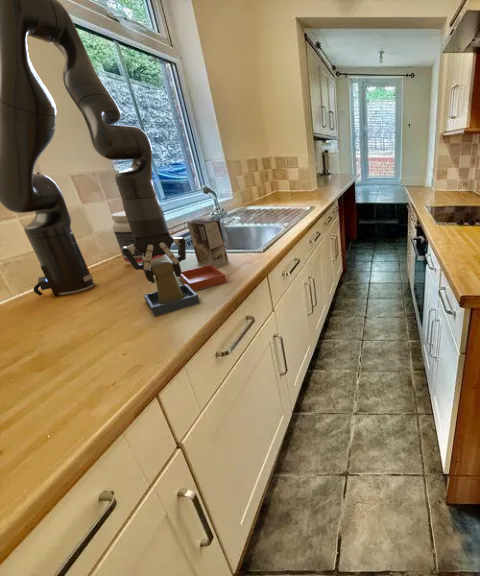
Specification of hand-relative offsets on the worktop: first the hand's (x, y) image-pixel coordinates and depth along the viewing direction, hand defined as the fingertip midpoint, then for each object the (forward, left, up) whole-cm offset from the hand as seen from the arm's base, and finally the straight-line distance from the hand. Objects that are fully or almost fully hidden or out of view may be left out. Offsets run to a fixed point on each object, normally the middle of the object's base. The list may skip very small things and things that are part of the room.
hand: (165, 278), depth 85 cm
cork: (0, 0, -7) cm, 7 cm away
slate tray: (0, 0, -7) cm, 7 cm away
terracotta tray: (+11, +11, -7) cm, 18 cm away
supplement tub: (+2, +46, -8) cm, 47 cm away
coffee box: (+19, +25, -8) cm, 33 cm away
